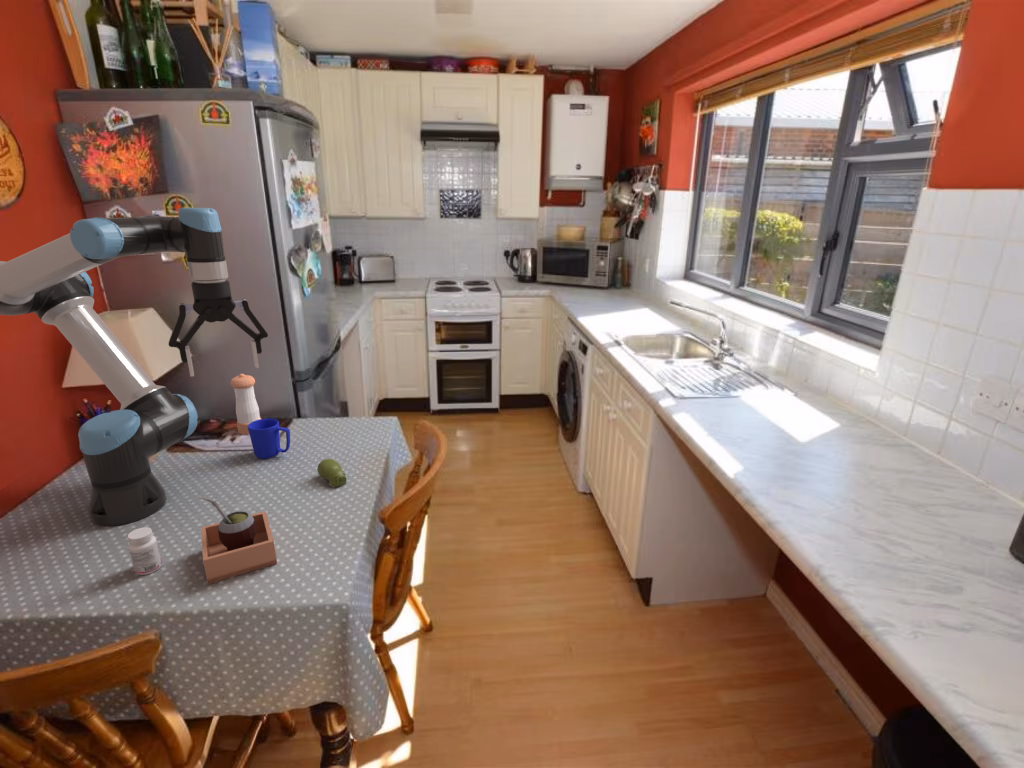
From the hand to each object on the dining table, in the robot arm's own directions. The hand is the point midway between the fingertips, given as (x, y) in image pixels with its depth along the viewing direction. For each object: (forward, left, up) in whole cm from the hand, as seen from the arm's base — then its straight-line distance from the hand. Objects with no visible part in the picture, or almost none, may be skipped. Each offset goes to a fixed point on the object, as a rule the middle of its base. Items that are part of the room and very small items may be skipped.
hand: (225, 370), depth 125 cm
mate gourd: (-4, -28, -32) cm, 42 cm away
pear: (+21, -5, -33) cm, 39 cm away
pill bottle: (-20, -23, -33) cm, 45 cm away
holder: (-3, -28, -33) cm, 43 cm away
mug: (+9, +18, -33) cm, 39 cm away
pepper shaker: (+5, +41, -33) cm, 53 cm away
